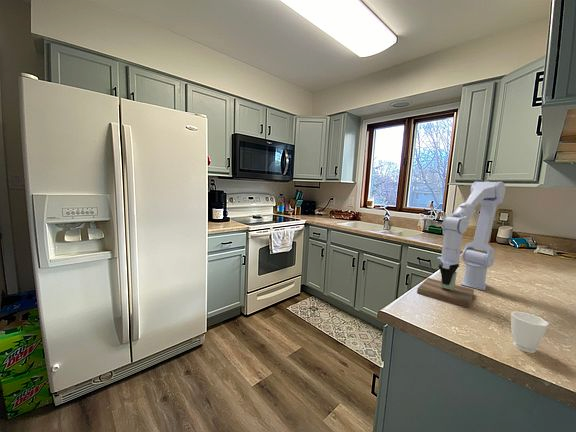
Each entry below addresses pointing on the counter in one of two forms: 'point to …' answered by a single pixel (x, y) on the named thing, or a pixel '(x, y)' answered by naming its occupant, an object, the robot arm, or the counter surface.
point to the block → (452, 283)
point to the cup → (527, 331)
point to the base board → (446, 292)
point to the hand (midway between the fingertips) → (446, 282)
